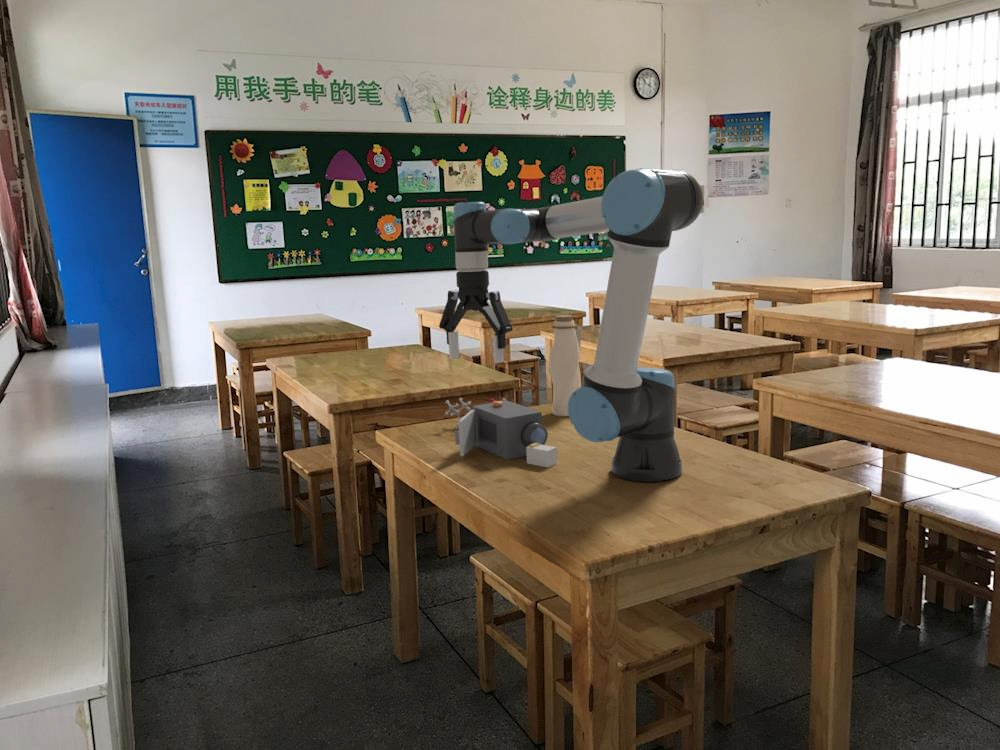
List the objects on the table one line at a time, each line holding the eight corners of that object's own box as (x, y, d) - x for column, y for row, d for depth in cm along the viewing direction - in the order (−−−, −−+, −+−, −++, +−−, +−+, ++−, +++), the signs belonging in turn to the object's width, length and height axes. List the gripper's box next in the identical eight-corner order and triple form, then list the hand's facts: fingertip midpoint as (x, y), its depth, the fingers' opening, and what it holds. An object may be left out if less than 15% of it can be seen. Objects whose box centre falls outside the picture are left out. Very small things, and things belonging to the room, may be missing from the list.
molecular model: (438, 430, 221) (437, 393, 220) (468, 425, 227) (467, 390, 226) (482, 440, 206) (482, 401, 205) (513, 435, 213) (512, 397, 211)
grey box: (549, 455, 193) (548, 410, 191) (513, 462, 188) (511, 416, 186) (507, 438, 209) (506, 396, 207) (473, 444, 204) (471, 402, 202)
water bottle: (564, 407, 241) (562, 312, 236) (589, 410, 235) (588, 314, 230) (543, 414, 233) (541, 316, 228) (569, 418, 227) (568, 318, 222)
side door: (464, 456, 191) (462, 421, 190) (455, 455, 192) (454, 420, 190) (477, 442, 202) (476, 409, 201) (469, 442, 203) (468, 409, 201)
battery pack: (556, 464, 187) (556, 445, 186) (548, 468, 184) (547, 449, 183) (535, 460, 190) (535, 441, 190) (526, 463, 188) (526, 445, 187)
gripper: (525, 269, 184) (528, 361, 188) (442, 268, 199) (446, 354, 203) (505, 271, 178) (509, 366, 182) (421, 271, 193) (426, 359, 197)
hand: (476, 360), depth 193 cm, fingers open, 13 cm apart
